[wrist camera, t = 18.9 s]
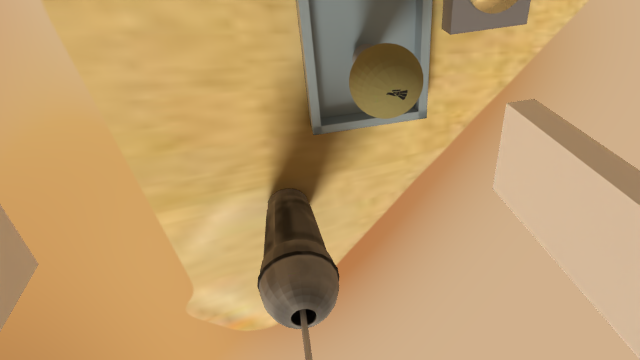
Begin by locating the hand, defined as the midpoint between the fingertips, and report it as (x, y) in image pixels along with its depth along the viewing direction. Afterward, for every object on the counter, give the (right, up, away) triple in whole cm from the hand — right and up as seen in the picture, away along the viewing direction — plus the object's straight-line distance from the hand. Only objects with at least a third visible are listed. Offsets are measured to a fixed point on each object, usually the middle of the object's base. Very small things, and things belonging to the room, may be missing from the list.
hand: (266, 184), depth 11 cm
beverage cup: (-2, -3, +36) cm, 36 cm away
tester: (+16, +18, +26) cm, 35 cm away
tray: (+5, +12, +28) cm, 31 cm away
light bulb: (+5, +12, +27) cm, 30 cm away
